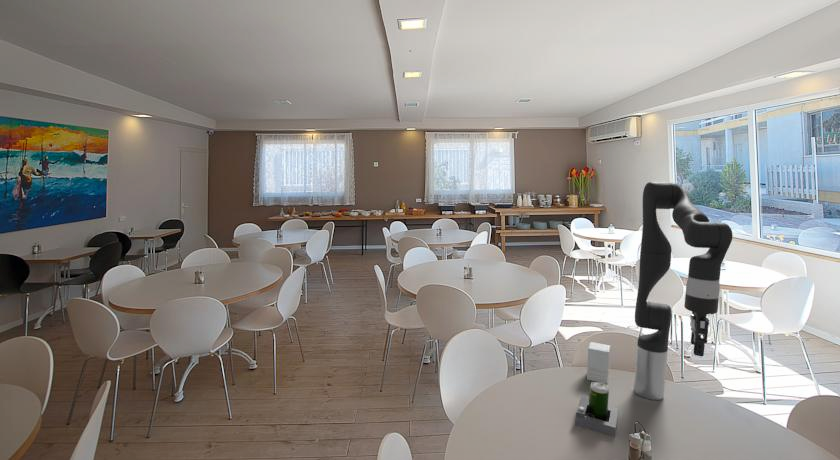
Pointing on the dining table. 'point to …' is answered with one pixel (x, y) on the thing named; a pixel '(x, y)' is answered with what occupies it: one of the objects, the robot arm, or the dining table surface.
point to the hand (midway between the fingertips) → (696, 349)
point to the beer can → (598, 401)
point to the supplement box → (598, 362)
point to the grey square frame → (594, 423)
